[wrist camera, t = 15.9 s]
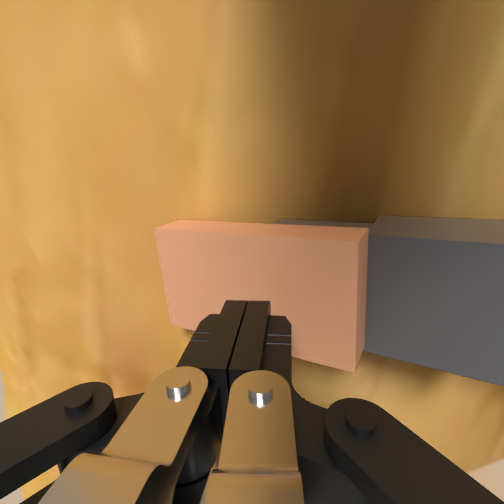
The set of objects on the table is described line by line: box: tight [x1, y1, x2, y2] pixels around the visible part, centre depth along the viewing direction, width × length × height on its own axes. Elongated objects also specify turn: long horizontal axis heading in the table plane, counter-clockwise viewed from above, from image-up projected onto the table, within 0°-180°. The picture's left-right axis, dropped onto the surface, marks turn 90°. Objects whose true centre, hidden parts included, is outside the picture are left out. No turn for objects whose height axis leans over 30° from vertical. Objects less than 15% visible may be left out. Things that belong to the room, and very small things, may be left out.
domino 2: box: [273, 219, 504, 386], centre depth 13 cm, size 5×2×9 cm
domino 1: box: [154, 220, 369, 373], centre depth 14 cm, size 5×2×9 cm
